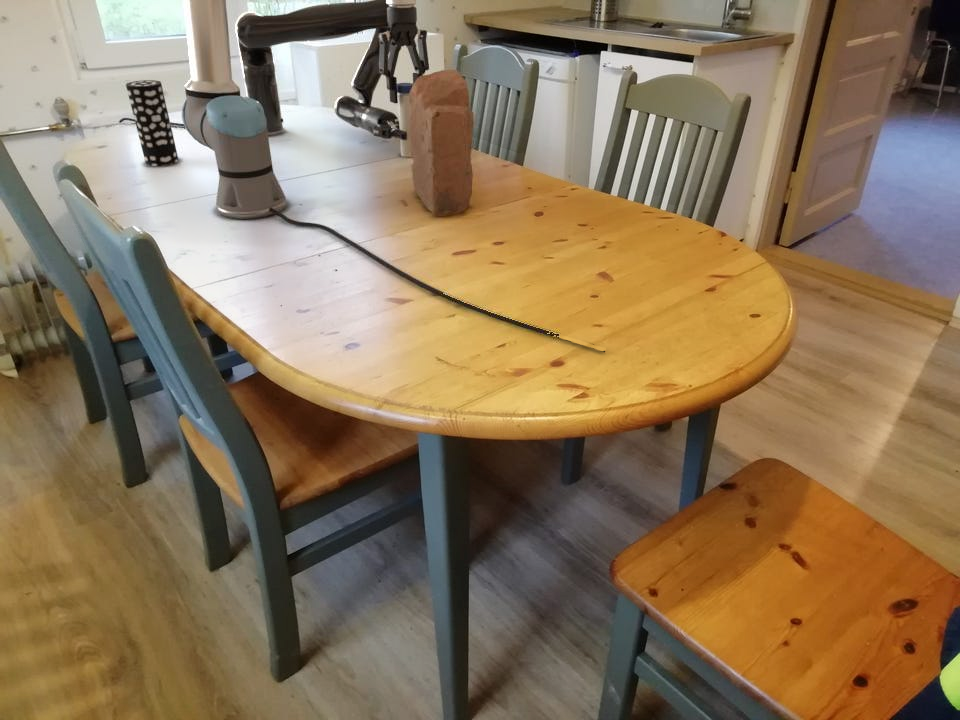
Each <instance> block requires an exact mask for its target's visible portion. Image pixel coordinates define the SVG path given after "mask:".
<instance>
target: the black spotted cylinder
mask: <svg viewBox="0 0 960 720" xmlns="http://www.w3.org/2000/svg"><path fill="white" fill-rule="evenodd" d="M125 87H126V91H127V95H128V99H129V103H130V107H131V110H132V115H133V119H135V123H134V124H135V127H136V130H137V134H138V139H139V143H140V146H141V150H142V155H143V158H144V163H145V164H146V165H147V166H151V167H164V166H170V165H174V164H176V163H178V162H179V155H178V150H177V146H176V142H175V137H174V133H173V128H172V125H171V124H170V122H171V121H170V116H169V111H168V107H167V103H166V98H165V93H164V89H163V84H162V81H161V80H155V79H154V80H153V79H151V80H150V79H145V80H144V79H141V80H134V81H130V82H129V81H128V82H127V83H126V84H125Z"/></svg>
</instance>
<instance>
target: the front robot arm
mask: <svg viewBox="0 0 960 720" xmlns="http://www.w3.org/2000/svg"><path fill="white" fill-rule="evenodd" d="M182 1H183V2H182V3H183V11H184V21H185V29H186V39H187V48H188V60H189V68H190V79H189V80H188V81H187V83H186V84H185V85H184V91H185V101H184V102H183V104H182V108H181V119H182V124H184V126H183V127H184V128H185V129H186V132H188V134H189V135H190V136H191V138H192V139H194V140H195V141H196V142H198V143H199V144H200V145H202V146H204V147H207V148H208V149H211V150H212V151H214V156H215V160H216V167H217V169H218V170H217V172H218V185H217V193H216V201H215V206H216V210H217V213H218V214H219V215H221V216H223V217H225V218H229V219H236V220H253V219H260V218H261V219H262V218H265V217H266V218H267V217H270V216H274V215H276V216H278V217H279V218H281V219H282V220H283V221H285V222H287V223H289V224H292V225H294V226H301V227H309V228H317V229H320V230H324V231H326V232H328V233H329V234H331V235H333V236H335V237H336V238H338V239H339V240H341V241H343V242H344V243H346V244H348V245H349V246H351V247H353V248H354V249H356V250H358V251H359V252H360V253H362V254H364V255H366V256H367V257H369V258H371V259H372V260H373V261H376V262H377V263H379V264H380V265H382V266H383V267H385V268H386V269H389V270H390V271H392V272H393V273H395V274H396V275H398V276H400V277H402V278H404V279H405V280H407V281H409V282H411V283H413V284H414V285H416V286H418V287H420V288H422V289H424V290H427V291H429V292H430V293H432V294H434V295H437V296H439V297H441V298H443V299H446V300H448V301H450V302H453V303H455V304H458V305H460V306H462V307H464V308H467V309H470V310H473V311H475V312H478V313H479V314H482V315H485V316H489V317H491V318H494V319H496V320H499V321H502V322H504V323H505V322H506V323H507V324H512V325H514V326H517V327H520V328H523V329H527V330H530V331H532V332H536V333H539V334H542V333H543V334H542V335H545V336H549V335H550V336H549V337H552V336H554V335H556V337H557V336H559V334H554V333H553V332H554V331H553V332H550V334H547V333H549V331H551V329H550V330H549V329H547V328H545V329H546V330H549V331H546V330H543V329H544V328H543V329H540V328H541V327H540V328H536V327H538V325H533V324H530V323H529V324H530V325H533V326H536V327H533V326H530V325H527V324H528V323H527V324H524V323H525V322H524V323H521V322H522V321H521V322H518V321H519V320H518V321H515V320H516V319H515V320H512V319H513V318H512V319H509V318H510V317H509V316H506V317H508V318H506V317H503V316H504V315H503V316H500V315H501V314H500V315H497V314H498V313H497V314H494V313H495V312H494V313H491V312H493V311H492V310H489V309H486V310H488V311H491V312H488V311H486V310H483V309H484V308H483V309H480V308H482V307H481V306H478V305H475V306H477V307H480V308H477V307H475V306H472V305H474V304H473V303H470V304H472V305H470V304H467V303H469V302H468V301H466V302H467V303H464V302H462V301H464V300H463V299H460V300H462V301H460V300H457V299H459V298H458V297H455V298H457V299H455V298H452V297H450V296H452V295H450V294H448V295H450V296H448V295H445V294H443V293H445V292H444V291H441V290H439V289H437V288H436V287H433V286H431V285H429V284H427V283H425V282H423V281H421V280H419V279H417V278H415V277H413V276H412V275H409V274H407V273H406V272H404V271H402V270H401V269H399V268H397V267H395V266H394V265H392V264H390V263H389V262H387V261H386V260H384V259H382V258H381V257H379V256H377V255H376V254H374V253H372V252H371V251H369V250H367V249H366V248H364V247H362V246H361V245H360V244H358V243H356V242H354V241H353V240H351V239H350V238H348V237H346V236H344V235H343V234H340V233H339V232H338V231H336V230H335V229H333V228H331V227H329V226H327V225H323V224H320V223H316V222H305V221H298V220H294V219H291V218H290V217H287V216H286V215H285V214H284V213H282V211H283V210H285V209H286V207H287V199H286V194H285V193H284V191H283V189H282V187H281V184H280V182H279V180H278V179H277V177H276V175H275V172H274V167H273V160H272V154H271V153H272V152H271V147H270V140H269V136H268V132H267V122H266V117H265V115H264V110H263V107H262V106H261V104H260V103H259V102H258V101H256V100H254V99H252V98H249V97H247V96H242V95H241V88H240V87H239V86H238V84H237V83H235V81H234V80H233V73H232V72H233V71H232V60H231V48H230V45H231V44H230V35H229V21H228V20H229V19H228V9H227V0H182ZM386 3H387V4H388V5H389V7H388V8H387V21H388V25H389V26H388V30H387V32H384V33H378V38H379V42H380V50H379V73H380V74H382V75H381V76H385V78H386V89H387V91H389V102H390V103H393V104H395V105H396V104H398V92H397V84H398V81H397V77H396V76H395V71H396V67H397V63H398V59H399V54H400V51H401V50H402V47H406V48H407V51H408V54H409V57H410V59H411V60H410V61H411V63H412V65H413V68H414V72H412V84H414V83H415V81H416V79H417V78H418V77H420V76H422V75H426V74H425V73H426V71H429V70H430V63H429V54H428V46H427V37H428V31H427V30H426V29H421V28H420V29H419V28H418V26H417V22H418V16H417V15H418V14H417V12H418V11H417V9H418V8H417V7H416V4H417V0H386ZM389 37H390V38H391V45H390V48H391V49H390V52H389V55H388V47H389V45H388V41H389ZM415 39H417V40H415ZM416 41H417V43H416ZM555 332H556V333H558V332H557V331H555ZM552 333H553V334H552ZM558 338H559V337H558ZM558 338H557V339H558Z"/></svg>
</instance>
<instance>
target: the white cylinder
mask: <svg viewBox="0 0 960 720" xmlns="http://www.w3.org/2000/svg"><path fill="white" fill-rule="evenodd" d="M409 94H410V93H407V94H403V93H397V97H398V103H397V104H398V119H399V125H400V130H403V131H405V132H406V133H407V140H402V139H400V138H399V143H400V156H401V157H402V158H412V155H411V143H410V116H411V104H410V99H409Z"/></svg>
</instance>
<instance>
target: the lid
mask: <svg viewBox="0 0 960 720" xmlns="http://www.w3.org/2000/svg"><path fill="white" fill-rule="evenodd" d="M412 86H413V82H397V94H399V93H403V94H407V93H410V91H411V88H412Z"/></svg>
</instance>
